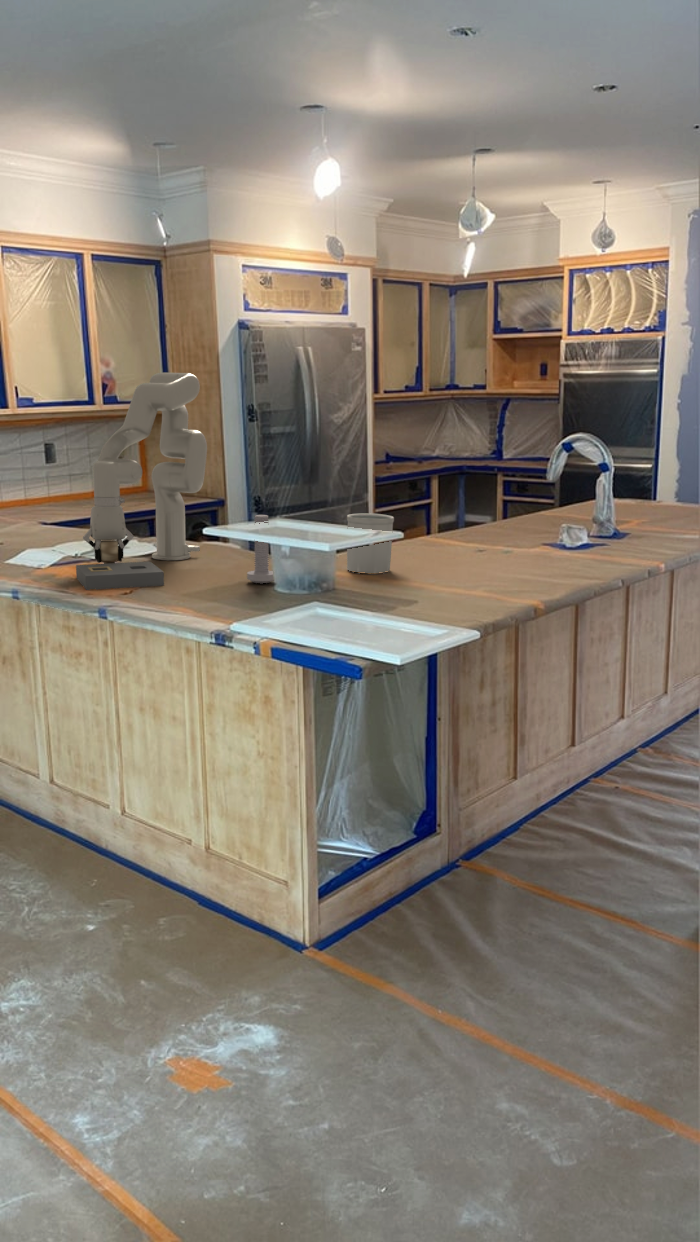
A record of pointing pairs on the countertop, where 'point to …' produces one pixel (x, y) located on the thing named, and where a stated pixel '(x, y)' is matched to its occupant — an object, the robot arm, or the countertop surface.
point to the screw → (261, 559)
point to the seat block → (119, 575)
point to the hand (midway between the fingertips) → (109, 560)
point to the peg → (109, 551)
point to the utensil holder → (373, 555)
